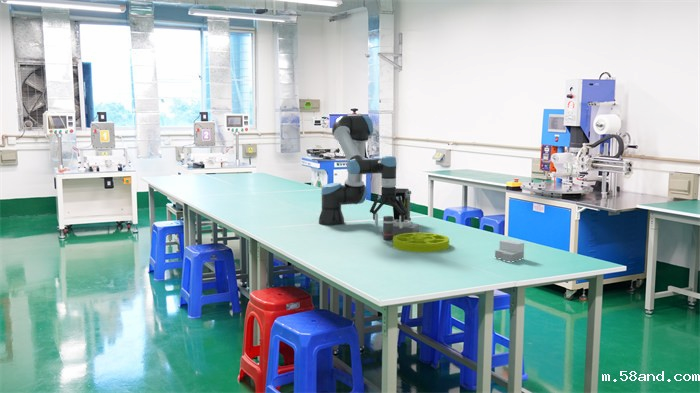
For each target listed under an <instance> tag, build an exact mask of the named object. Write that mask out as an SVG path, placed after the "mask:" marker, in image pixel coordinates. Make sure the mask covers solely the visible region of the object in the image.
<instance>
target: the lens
mask: <svg viewBox="0 0 700 393" xmlns="http://www.w3.org/2000/svg"><path fill="white" fill-rule="evenodd" d="M393 219H394V215H393V216H392V215H384V216H383V217H382V224H383V227H382V228H383V230H382V240H383V241H389V242H391V241H393V237H394V236H393V223H394V221H393Z"/></svg>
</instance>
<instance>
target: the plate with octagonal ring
mask: <svg viewBox="0 0 700 393" xmlns="http://www.w3.org/2000/svg"><path fill="white" fill-rule="evenodd" d="M393 221H394V223H393V237H394V236H396V235H399V234H404V233H420V224H419V223H418V224H417V223H412V221H409V220H404V222H403V227H402V228H399V220H398V219H394V218H393Z"/></svg>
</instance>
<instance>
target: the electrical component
mask: <svg viewBox="0 0 700 393" xmlns="http://www.w3.org/2000/svg"><path fill="white" fill-rule="evenodd" d="M411 195H412V190H410V189H409V188H397V187H396V197H399V196H402V201H403V203H404V205H405V207H406V209H407V212H408V214H406V215H404V220H409V221H411V220H412V218H411ZM395 201H396V202H397V204H398V206H399V207H400V208H401V206H400V203H399V201H398V200H397V199H396V200H395ZM390 206H391V207H392V213H393V214H392V215H393V219H398V220H399V216H400V213H399V212H398V211H397V209H396V208H395V207H394V206H393V205H392V204H391V205H390ZM401 210H402V208H401ZM402 211H403V210H402ZM411 222H412V221H411Z"/></svg>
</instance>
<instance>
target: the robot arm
mask: <svg viewBox="0 0 700 393" xmlns="http://www.w3.org/2000/svg"><path fill="white" fill-rule="evenodd" d="M331 133H332V136H333V138H334V139H335V140H336V141H337V142H338V144H339V146H340V148H341V150H342V152H343V154H344V156H345V158H346V160H347V162H346V172H347V179H345V180H344V183H343V185H342V183H341V182H331V183H326V184H324V185H322V187H321V192H320V194H321V211H320V215H319V217H318V224H320V225H325V226H338V225H343V224H344V223H345V217H344V215H343V211H342V206H344V205H358V204H359V205H360V204H363V203H364V202H365V201H366V199H367V195H368V188H367V186H366V184H365V183H364V182H365V181H363V175H366V174H367V175H368V174H369V175H373V174H381V181H380V184H381V187H380V188H381V189H380V191H381V193H380V194H381V195H379V194H377V195H375V198H374V201H373V204H372V205H371V207H370V209H369V213H371V214H372V219H373V221H374V227H379V213H378V212H379V210H380V209H381V208H382V207H383V206H384V205H390V206H391V204H392V205H393V206H394V207H395V208H396V209H397V211H398V212H399V213H400V216H399V228H402V227H403V222H404V215H406V214H408V212H407V209H406V207H405V205H404V203H403V201H402V196H399V197H396V188H397V187H396V186H397V158H396V156H391V155H389V156H388V155H386V156H382V157H381V158H375V159H374V158H372V159H370V158H369V159H368V158H367V159H365V153H366V143H367V141H369V138H370V136H373V133H374V124H373V120H372V119H371V117H370V116H369V115H363V114H358V115H355V114H354V115H341V116H339V117H338V118H336V120H334V122H333V124H332V127H331ZM380 199H381V201H380ZM396 199H397V200H398V201H399V203H400V206H401V208H402V210H403V211H402V210H401V208H400V207H399V206H398V204H397V202H396V201H395V200H396ZM379 201H380V203H379ZM393 206H392V207H393Z"/></svg>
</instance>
